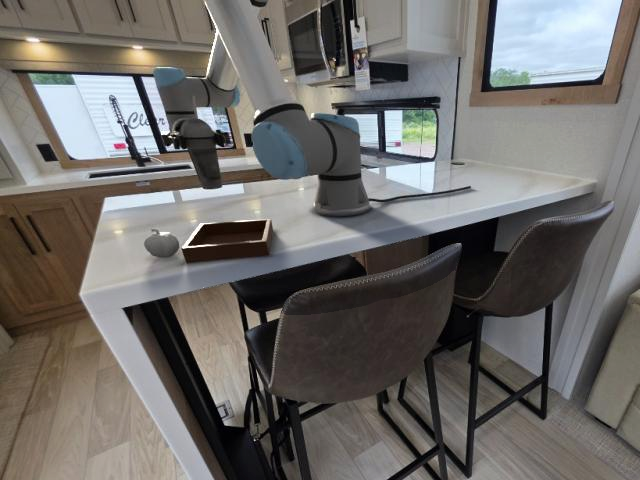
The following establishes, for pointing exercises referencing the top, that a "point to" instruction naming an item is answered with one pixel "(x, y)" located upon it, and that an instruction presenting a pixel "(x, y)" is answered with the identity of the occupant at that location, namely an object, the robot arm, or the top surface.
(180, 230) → the top surface
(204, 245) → the tray
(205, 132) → the beverage cup
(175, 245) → the grey pumpkin
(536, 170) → the top surface
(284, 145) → the robot arm
